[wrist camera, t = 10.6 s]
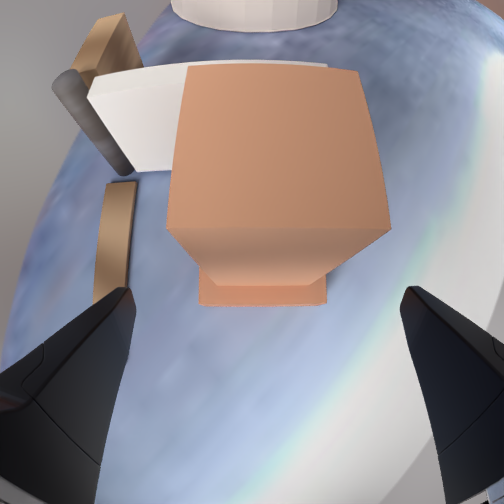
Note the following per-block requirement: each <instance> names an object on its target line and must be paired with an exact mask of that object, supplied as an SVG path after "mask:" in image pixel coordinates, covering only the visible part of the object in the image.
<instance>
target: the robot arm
mask: <svg viewBox="0 0 504 504" xmlns="http://www.w3.org/2000/svg"><path fill="white" fill-rule="evenodd" d="M400 314H401V318H402V322H403V326H404V330H405V335H406V339H407V344H408V347H409V351H410V354H411V358H412V361H413V364H414V367H415V370H416V373H417V377H418V380H419V383H420V387H421V390H422V394H423V397H424V401H425V404H426V408H427V412H428V416H429V420H430V424H431V428H432V432H433V436H434V440H435V445H436V450H437V454H438V460H439V465H440V470H441V476H442V481H443V487H444V493H445V500H446V504H460V503H462V502H464V501H466V500H469V499H471V498H472V497H474V496H476V495H478V494H480V493H482V492H484V491H486V495H487V498H488V500H487V501H485V502H483V503H481V504H504V344H503V343H501V342H500V341H499V340H497V339H496V338H494V337H492V336H491V335H490V334H489V333H487V332H486V331H485V330H483V329H482V328H480V327H479V326H478V325H476V324H475V323H473V322H472V321H470V320H469V319H467V318H466V317H465V316H463V315H462V314H460V313H459V312H457V311H456V310H454V309H453V308H451V307H450V306H448V305H447V304H445V303H444V302H442V301H441V300H439V299H438V298H436V297H435V296H433V295H432V294H430V293H429V292H427V291H426V290H424V289H423V288H421V287H419V286H409V287H407V288H406V290H405V293H404V296H403V299H402V302H401V304H400ZM135 317H136V305H135V302H134V298H133V295H132V291H131V289H130V288H129V287H117V288H115V289H114V290H113V291H111V292H110V293H109V294H107V295H106V296H104V297H103V298H102V299H100V300H99V301H98V302H96V303H95V304H93V305H92V306H91V307H89V308H88V309H87V310H85V311H84V312H83V313H81V314H80V315H79V316H77V317H76V318H75V319H73V320H72V321H71V322H69V323H68V324H67V325H65V326H64V327H63V328H61V329H60V330H59V331H57V332H56V333H55V334H53V335H52V336H51V337H50V338H48V339H47V340H46V341H44V343H42V344H40V345H39V346H38V347H37V348H35V349H34V350H33V351H31V352H30V353H29V354H27V355H26V356H25V357H23V358H22V359H21V360H19V361H18V362H16V363H15V364H13V365H12V366H11V367H9V368H8V369H6V370H5V371H3V372H2V373H0V504H94V502H95V496H96V490H97V484H98V479H99V473H100V468H101V467H100V466H101V462H102V457H103V452H104V448H105V443H106V438H107V434H108V430H109V425H110V421H111V417H112V413H113V409H114V405H115V401H116V397H117V393H118V390H119V386H120V382H121V379H122V375H123V372H124V368H125V365H126V361H127V357H128V354H129V349H130V344H131V338H132V332H133V327H134V322H135Z"/></svg>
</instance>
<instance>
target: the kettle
mask: <svg viewBox="0 0 504 504" xmlns="http://www.w3.org/2000/svg"><path fill="white" fill-rule="evenodd" d="M171 4H172V8H173V11H174V12H175V13H177V14H178V15H179V16H180V17H181V18H182V19H185V20H187V21H190V22H192V23H194V24H197V25H199V26H203V27H208V28H213V29H217V30H224V31H235V32H245V33H249V32H280V31H290V30H297V29H301V28H305V27H309V26H314V25H317V24H319V23H321V22H323V21H325V20H327V19H329V18H330V17H331V16H332V15H333V14H334V13H335V12H336V10H337V4H338V1H337V0H171Z"/></svg>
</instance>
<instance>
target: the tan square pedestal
mask: <svg viewBox="0 0 504 504" xmlns="http://www.w3.org/2000/svg"><path fill="white" fill-rule="evenodd" d="M166 229H167V230H168V231H169V232H170V233H171V234H172V236H173V237H174V238H175V239H176V240H177V241H178V242H179V244H180V245H181V246H182V247H183V248H184V249H185V250H186V252H187V253H188V254H189V255H190V256H191V257H192V258H193V260H194V261H195V262H196V263H197V264H198V265H199V266H200V267H199V304H200V305H203V306H223V307H274V306H318V305H322V304H325V303H327V293H326V274H327V273H329V272H330V271H332V270H333V269H335V268H336V267H338V266H339V265H341V264H342V263H343V262H345V261H346V260H348V259H349V258H351V257H352V256H354V255H355V254H357V253H358V252H360V251H361V250H363V249H364V248H365V247H367V246H368V245H370V244H371V243H373V242H374V241H375V240H377V239H378V238H380V237H381V236H383V235H384V234H385V233H387V232H388V231H390V230H391V223H390V216H389V208H388V202H387V195H386V189H385V183H384V178H383V172H382V167H381V162H380V157H379V152H378V147H377V143H376V138H375V134H374V130H373V125H372V121H371V117H370V113H369V109H368V106H367V102H366V98H365V95H364V91H363V88H362V84H361V81H360V78H359V74H358V71H352V70H345V69H337V68H328V67H318V66H307V65H292V64H267V63H234V64H209V65H194V66H188V69H187V74H186V79H185V85H184V90H183V96H182V102H181V108H180V114H179V121H178V127H177V134H176V141H175V149H174V156H173V164H172V173H171V182H170V191H169V201H168V212H167V224H166Z"/></svg>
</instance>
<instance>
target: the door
mask: <svg viewBox="0 0 504 504" xmlns="http://www.w3.org/2000/svg"><path fill="white" fill-rule="evenodd" d="M234 63H267V64H292V65H307V66H318V67H328V66H327V64H322V63H312V62H299V61H282V60H217V61H200V62H187V63H177V64H168V65H159V66H152V67H145V68H139V69H133V70H127V71H121V72H116V73H111V74H106V75H102V76H97V77H95V78H94V80H93V83H92V85H91V88H90V90H89V93H88V95H87V99H88V100H89V102H90V103H91V105H92V106H93V108H94V109H95V111H96V112H97V114H98V115H99V117H100V119H101V120H102V122H103V123H104V125H105V126H106V128H107V129H108V130H109V132H110V133H111V135H112V136H113V138H114V139H115V141H116V142H117V144H118V145H119V147H120V148H121V150H122V151H123V153H124V154H125V155H126V157H127V158H128V160H129V161H130V163H131V164H132V165H133V167H134V168H135V170H136V171H137V172H146V171H162V170H172V164H173V156H174V149H175V141H176V134H177V127H178V121H179V114H180V108H181V102H182V96H183V90H184V85H185V79H186V74H187V69H188V66H194V65H209V64H234Z"/></svg>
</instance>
